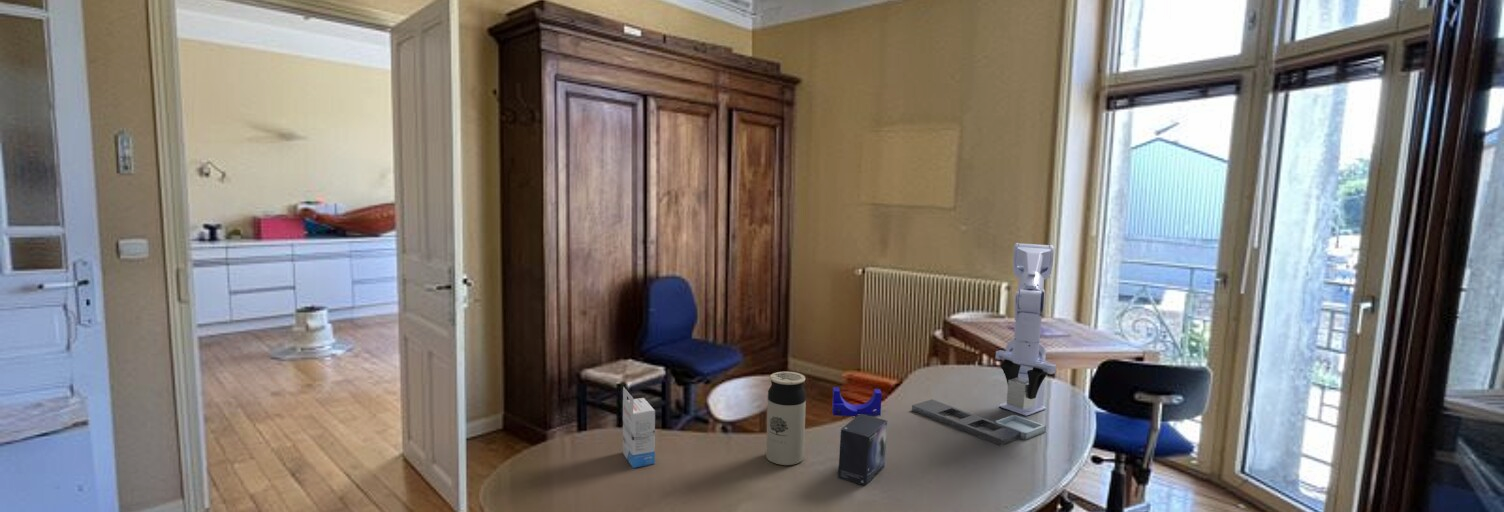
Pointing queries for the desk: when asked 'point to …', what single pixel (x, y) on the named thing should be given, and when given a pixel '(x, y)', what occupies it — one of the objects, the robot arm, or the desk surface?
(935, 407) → the rail
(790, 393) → the travel mug
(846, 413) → the blue cradle stand
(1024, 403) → the grey rectangular block
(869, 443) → the small box
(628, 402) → the ink box
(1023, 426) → the parts tray
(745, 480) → the desk surface
